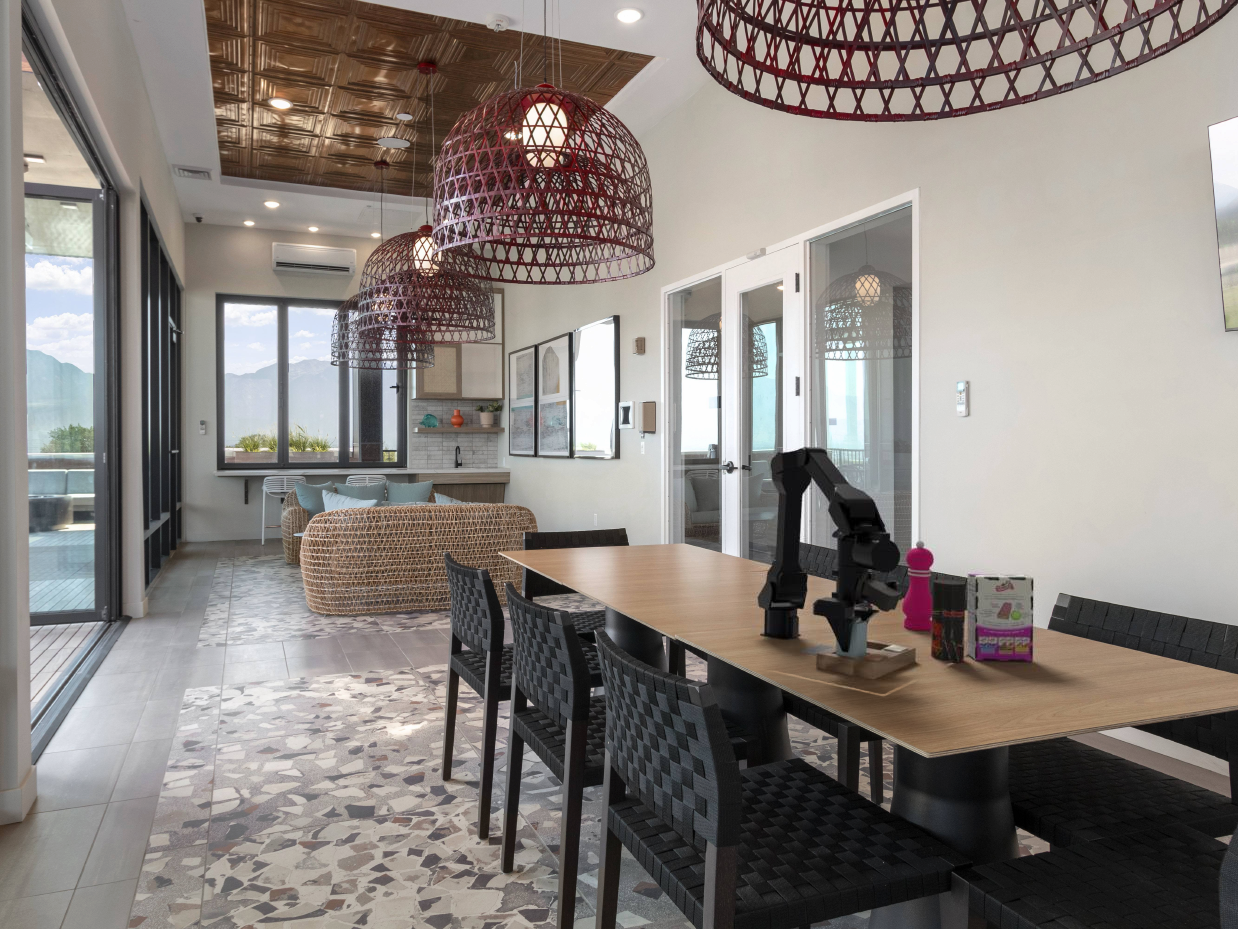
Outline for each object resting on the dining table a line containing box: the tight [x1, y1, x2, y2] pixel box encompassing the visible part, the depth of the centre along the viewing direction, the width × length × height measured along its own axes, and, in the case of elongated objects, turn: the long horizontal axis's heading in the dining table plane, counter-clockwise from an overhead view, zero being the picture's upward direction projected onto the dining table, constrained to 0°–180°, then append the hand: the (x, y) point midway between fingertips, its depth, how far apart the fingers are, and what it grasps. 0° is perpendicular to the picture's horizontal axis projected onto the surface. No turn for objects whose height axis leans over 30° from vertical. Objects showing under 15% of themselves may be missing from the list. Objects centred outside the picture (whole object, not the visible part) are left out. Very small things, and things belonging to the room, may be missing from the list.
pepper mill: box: [901, 540, 935, 631], centre depth 191 cm, size 7×7×20 cm
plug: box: [835, 618, 868, 658], centre depth 152 cm, size 4×4×8 cm
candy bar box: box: [966, 573, 1035, 663], centre depth 163 cm, size 11×5×16 cm, turn 88°
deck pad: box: [798, 644, 835, 656], centre depth 164 cm, size 9×9×1 cm
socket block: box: [815, 638, 917, 680], centre depth 154 cm, size 11×18×3 cm, turn 138°
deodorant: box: [930, 579, 966, 664], centre depth 161 cm, size 6×6×15 cm
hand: (850, 650), depth 152 cm, fingers open, 4 cm apart
